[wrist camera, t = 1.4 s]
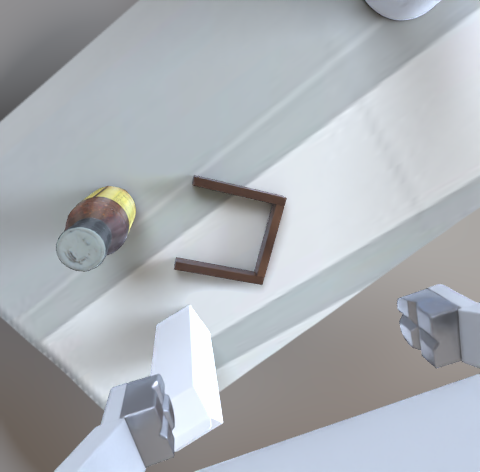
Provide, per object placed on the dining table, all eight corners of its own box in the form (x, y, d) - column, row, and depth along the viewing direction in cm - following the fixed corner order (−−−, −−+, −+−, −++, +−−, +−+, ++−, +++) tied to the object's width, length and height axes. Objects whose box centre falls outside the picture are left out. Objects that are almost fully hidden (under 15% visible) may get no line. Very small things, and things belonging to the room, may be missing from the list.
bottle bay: (193, 175, 50) (194, 176, 48) (282, 195, 53) (286, 198, 51) (174, 264, 53) (174, 269, 51) (259, 279, 56) (262, 285, 54)
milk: (156, 324, 55) (139, 440, 34) (190, 303, 55) (193, 406, 34) (178, 352, 57) (175, 479, 36) (211, 332, 57) (227, 447, 36)
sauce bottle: (93, 231, 50) (40, 289, 31) (86, 185, 48) (25, 218, 29) (142, 227, 51) (119, 281, 32) (136, 182, 49) (109, 212, 30)
